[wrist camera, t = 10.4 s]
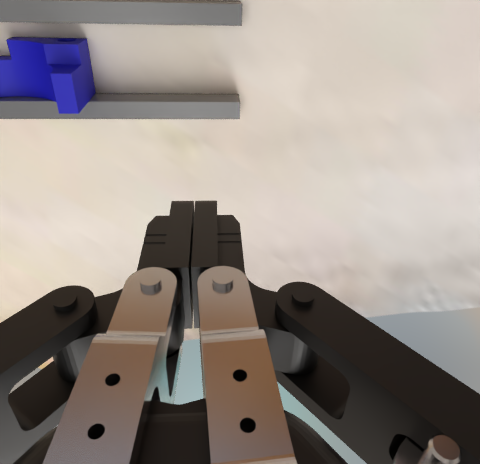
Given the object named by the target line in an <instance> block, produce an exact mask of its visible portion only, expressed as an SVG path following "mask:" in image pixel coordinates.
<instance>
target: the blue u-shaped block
mask: <svg viewBox="0 0 480 464" xmlns="http://www.w3.org/2000/svg"><path fill="white" fill-rule="evenodd" d="M7 44H8V48H9V52H10V55H11V56H0V97H37V98H44V99H49V100H52V101H55V102H57V107H58V111H59V114H79V113H80V112H81V110H82V109H83V108H84V107H85V105H86V104H87V103H88V102H89V101H90V99H91V98H92V97H93V96H94V94H95V93H96V91H95V85H94V79H93V73H92V67H91V61H90V55H89V49H88V43H87V38H36V37H12V38H10V39H7Z"/></svg>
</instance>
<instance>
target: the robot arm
mask: <svg viewBox="0 0 480 464" xmlns="http://www.w3.org/2000/svg"><path fill="white" fill-rule="evenodd" d="M193 311H194V328H199V330H200V352H201V365H202V366H201V367H202V382H203V396H204V399H200V400H197V401H193V402H189V403H186V404H182V405H176V404H174V398H175V392H176V386H177V380H178V374H179V367H180V362H181V356H182V342H183V338H184V329H186V328H192V322H193ZM52 356H53V359H54V361H53V362H51V363H50V364H49V365H47V366H46V367H45V368H43V369H42V370H41V371H39V372H38V373H37V374H35V375H34V376H33V377H31V378H30V379H29V380H27V381H26V382H25V383H23V384H22V385H21V386H20V387H18V388H17V389H16V390H14V391H13V392H12V393H10V391H11V389H12V388H13V387H14V385H15V384H16V383H18V382H19V381H20V380H21V379H23V378H24V377H25V376H27V375H28V374H29V373H31V372H32V371H33V370H35V369H36V368H37V367H39V366H40V365H42V364H43V363H44V362H46V361H47V360H48V359H50V358H51V357H52ZM277 382H279V383H280V384H281V385H282V386H283V387H284V388H285V389H286V390H287V391H288V392H290V393H291V394H292V395H293V396H294V397H295V398H296V399H297V400H298V401H299V402H300V403H301V404H303V405H304V406H305V407H306V408H307V409H308V410H309V411H310V412H311V413H312V414H314V415H315V416H316V417H317V418H318V419H319V420H320V421H321V422H322V423H323V424H324V425H325V426H327V427H328V428H329V429H330V430H331V431H332V432H333V433H334V434H335V435H336V436H337V437H339V438H340V439H341V440H342V441H343V442H344V443H345V444H346V445H347V446H348V447H349V448H351V449H352V450H353V451H354V452H355V453H356V454H357V455H358V456H360V458H362V459H363V460H364V461H365V462H366V463H367V464H480V394H479V393H477V392H476V391H474V390H473V389H471V388H470V387H468V386H466V385H465V384H464V383H462V382H461V381H459V380H458V379H456V378H455V377H453V376H452V375H450V374H448V373H447V372H445V371H444V370H442V369H441V368H439V367H438V366H436V365H435V364H433V363H432V362H430V361H429V360H427V359H426V358H424V357H423V356H421V355H420V354H418V353H417V352H415V351H414V350H412V349H411V348H409V347H408V346H406V345H405V344H403V343H402V342H400V341H399V340H397V339H396V338H394V337H393V336H391V335H390V334H388V333H387V332H385V331H384V330H382V329H381V328H379V327H378V326H376V325H375V324H373V323H372V322H370V321H369V320H367V319H366V318H364V317H363V316H361V315H360V314H358V313H357V312H355V311H354V310H352V309H351V308H349V307H348V306H346V305H345V304H343V303H342V302H340V301H339V300H337V299H336V298H334V297H333V296H331V295H330V294H328V293H327V292H325V291H324V290H322V289H321V288H319V287H317V286H315V285H313V284H310V283H306V282H292V283H288V284H286V285H284V286H282V287H281V288H280V289H279V290H278V292H274V291H269V290H265V289H262V288H260V287H258V286H256V285H254V284H253V283H251V282H250V281H249V280H248V278H247V277H246V275H245V270H244V260H243V250H242V241H241V231H240V223H239V222H238V221H237V220H236V219H235V217H234V216H233V215H217V201H195V212H194V201H172V203H171V209H170V215H169V216H156V217H155V218H154V219H153V220H152V221H151V222H150V223H149V224H148V226H147V230H146V234H145V238H144V244H143V247H142V251H141V256H140V260H139V264H138V268H137V271H136V272H135V273H133V274H132V275H131V276H129V278H128V279H127V280H126V282H125V285H124V287H123V289H121V290H119V291H116V292H114V293H110V294H106V295H102V296H98V297H94V295H93V293H92V292H91V291H90V290H89V289H87V288H85V287H82V286H66V287H61V288H58V289H56V290H53V291H52V292H50V293H48V294H46V295H45V296H43V297H42V298H40V299H38V300H37V301H35V302H34V303H32V304H30V305H29V306H27V307H26V308H24V309H22V310H21V311H19V312H17V313H16V314H14V315H13V316H11V317H9V318H8V319H6V320H5V321H3V322H1V323H0V464H348V463H346V462H345V460H344V459H343V458H341V456H339V454H338V453H337V452H335V450H334V449H332V447H331V446H330V445H329V444H328V443H327V442H326V441H325V440H324V439H323V438H322V437H321V436H320V435H319V434H318V433H317V432H316V431H315V430H314V429H313V428H311V427H310V426H309V425H308V424H306V423H305V422H304V421H302V420H301V419H299V418H298V417H296V416H295V415H293V414H291V413H289V412H287V411H285V410H284V409H283V406H282V401H281V397H280V393H279V389H278V384H277ZM9 393H10V394H9ZM57 425H58V426H57ZM56 426H57V427H56ZM54 427H55V428H54ZM53 428H54V429H53Z"/></svg>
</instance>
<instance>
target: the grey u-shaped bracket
mask: <svg viewBox="0 0 480 464" xmlns="http://www.w3.org/2000/svg"><path fill="white" fill-rule="evenodd" d="M0 22H35V23H98V24H162V25H225V26H242V3H241V2H240V1H210V0H0ZM0 119H240V100H239V95H238V94H118V93H95V94H94V96H93V97H92V98H91V99H90V101H89V102H88V103H87V104H86V105H85V107H84V108H83V109H82V110H81V112H80V113H79V114H59V111H58V107H57V102H55V101H52V100H49V99H44V98H37V97H0Z"/></svg>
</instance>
